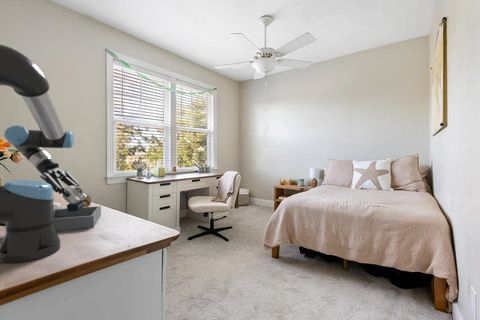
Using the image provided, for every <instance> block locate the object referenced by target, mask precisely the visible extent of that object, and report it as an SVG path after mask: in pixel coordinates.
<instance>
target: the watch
mask: <svg viewBox="0 0 480 320" xmlns="http://www.w3.org/2000/svg"><path fill="white" fill-rule="evenodd" d="M65 188H66V189H69V190H70V191H71V192H72V193H73V194H74V195H75V196H76V197H78V200H77V201H76V202H75V203H72V202H71V201H70V200H69V199H68V198H67V197H65V196H64V194H63V193H61V195H62V198H63V199H64V200H65V202H66V203H68V204H67V205H66V208H67V209H68V212H73V211H79V210H80V209H81V208H82V207H83V206H84V202H83V201H82V200H81V199H82V198H83V195H84V194H85V192H84V190H83V188H82V187H80V185H79V186H67V187H65Z"/></svg>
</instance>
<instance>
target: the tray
mask: <svg viewBox="0 0 480 320" xmlns="http://www.w3.org/2000/svg"><path fill="white" fill-rule="evenodd" d="M53 211H54V228H55V230H56V232H60V231H70V230H81V229H92V228H95V226H96V224H97V223H98V221H99V220H100V218H101V216H102V206H101V205H97V206H95V205H94V206H89V207H82V208H81V209H80V210H79V211H73V212H68V209H67V207H66V208H65V207H64V208H61V209H53Z"/></svg>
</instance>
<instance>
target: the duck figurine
mask: <svg viewBox="0 0 480 320" xmlns="http://www.w3.org/2000/svg"><path fill="white" fill-rule="evenodd" d="M53 209H62V204H61V203H59V202H54V201H53Z"/></svg>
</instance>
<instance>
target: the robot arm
mask: <svg viewBox="0 0 480 320" xmlns="http://www.w3.org/2000/svg"><path fill="white" fill-rule="evenodd" d="M0 86H6V87H10V88H12V89H13V91H14V92H15V93H16V94H17V95H18V96H21V98H22V99H23V102H24V103H25V104H26V106H27V109H28V110H29V112H30V113H31V115H32V117H33V119H34V121H35V122H36V124H37V127H38V128H39V129H27V127H24V126H22V125H17V124H16V125H11V126H8V127H7V128H6V129H5V131H4V135H3V136H4V138H5V140H7V142H8V143H9V144H10V145H12V146H13V147H14V148H15V149H16V150H17V151H18V152H20V154H22V156H24V158H26V160H27V161H28V162H29V163H30V164H31V165H32V166H33V167H34V168H35V169H36V170H37V171H38V172H39V173H40V174H41V175H40V176H39V178H40V179H42V180H43V181H39V180H38V181H37V180H8V181H5V182H4V185H0V224H1V225H2V224H5V235H4V238H3V240H2V243H1V244H0V261H2V262H1V263H3V262H7V263H6V264H16V263H25V262H30V261H34V260H39V259H43V258H45V257H47V256H49V255H52V254H55V253H57V252H58V251H59V250H60V249H61V239H60V237H59V234H58V231H56V230H55V228H54V211H53V202H54V198H55V195H54V192H55V193H58V194H59V195H62V193H63V194H64V196H65V197H67V198H68V199H69V200H70V201H71V202H72V203H75V202H76V201H77V200H79V197H78V196H76V195H75V194H74V193H73V191H72V190H71V189H70V188H67V187H69V186H79V187H80V185H81V184H80V183H79V181H78V180H77V179H76V178H75V177H74V176H73V175H71V173H70V172H69V170H68V169H66V170H63V169H62V168H60V166H59V165H60V164H59V163H58V161H56V159H54V158H53V156H52V155H50V153H49V152H48V151H47V150H46V149H71V148H72V147H74V144H75V137H74V136H75V135H74V133H73V132H72V131H69V130H65V129H64V125H63V123H62V121H61V119H60V116H59V114H58V110H56V109H57V108H56V107H55V104H54V102H53V99H52V97H51V95H50V93H49V90H50V83H49V81H48V79H47V77H46V75H45V74H44V72H43V71H42V69H40V68H39V66H38V65H37V64H36V63H35V62H34V61H32V60H31V59H30V58H29V57H28V56H26V55H24V54H23V53H21V52H20V51H18V50H16V49H14V48H12V47H10V46H7V45H4V44H0ZM65 185H66V186H67V187H66V186H65ZM66 188H67V189H66ZM86 195H87V194H85V193H84V195H83V198H82V199H81V200H82V201H83V200H84V199H85V198H86V197H87V196H86ZM77 197H78V198H77Z"/></svg>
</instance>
